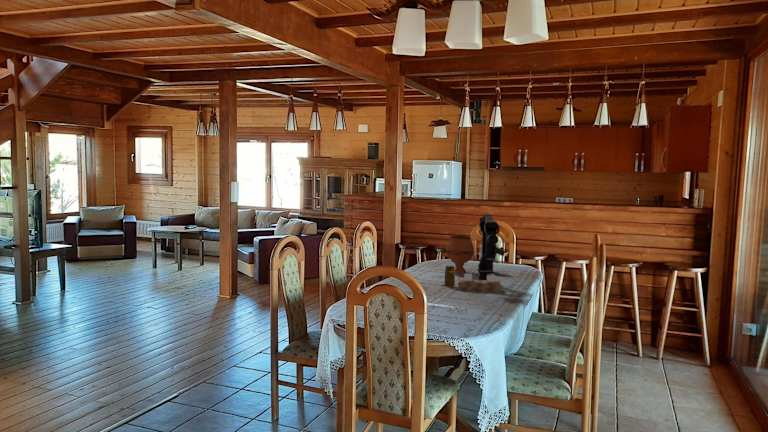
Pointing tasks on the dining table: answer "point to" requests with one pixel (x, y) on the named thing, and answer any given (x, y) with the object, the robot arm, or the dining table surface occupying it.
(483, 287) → the housing
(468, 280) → the peg
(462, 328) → the dining table surface
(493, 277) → the peg
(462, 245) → the goblet
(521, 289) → the dining table surface
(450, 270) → the condiment
